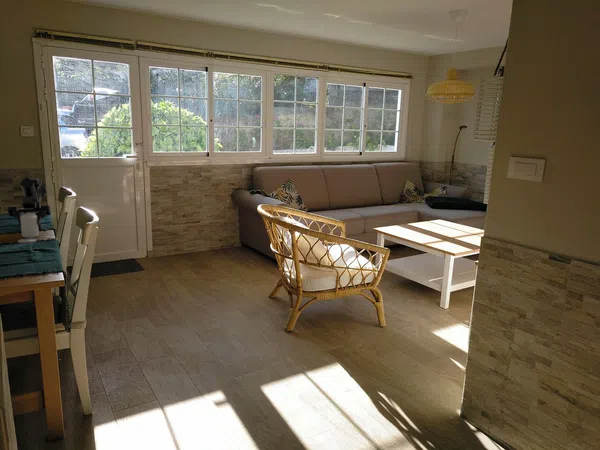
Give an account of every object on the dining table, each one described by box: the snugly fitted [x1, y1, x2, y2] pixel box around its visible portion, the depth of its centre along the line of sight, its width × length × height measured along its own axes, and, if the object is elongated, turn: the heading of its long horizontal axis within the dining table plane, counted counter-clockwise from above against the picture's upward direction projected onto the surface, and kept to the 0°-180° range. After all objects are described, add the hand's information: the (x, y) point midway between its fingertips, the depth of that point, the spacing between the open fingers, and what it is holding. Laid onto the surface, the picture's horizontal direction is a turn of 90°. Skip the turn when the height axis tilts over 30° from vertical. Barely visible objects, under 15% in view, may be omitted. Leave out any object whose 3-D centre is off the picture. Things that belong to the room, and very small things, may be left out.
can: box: [20, 212, 40, 239], centre depth 232 cm, size 8×8×12 cm
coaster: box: [17, 237, 38, 245], centre depth 224 cm, size 8×8×1 cm
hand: (29, 224), depth 230 cm, fingers closed on can, 7 cm apart
